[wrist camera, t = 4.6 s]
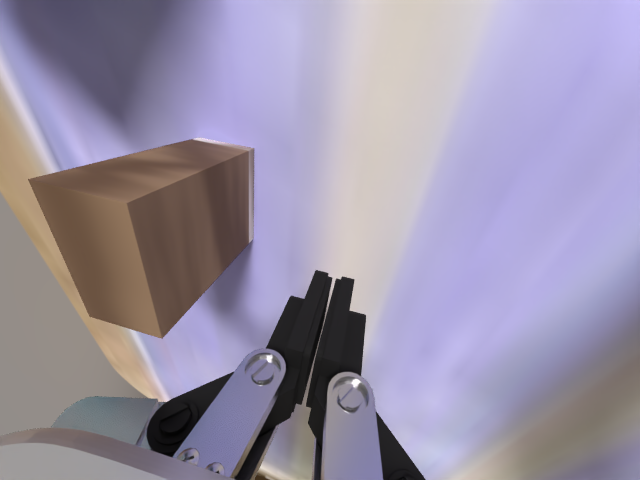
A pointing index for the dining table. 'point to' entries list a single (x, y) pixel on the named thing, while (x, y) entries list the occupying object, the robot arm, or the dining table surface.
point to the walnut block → (151, 228)
